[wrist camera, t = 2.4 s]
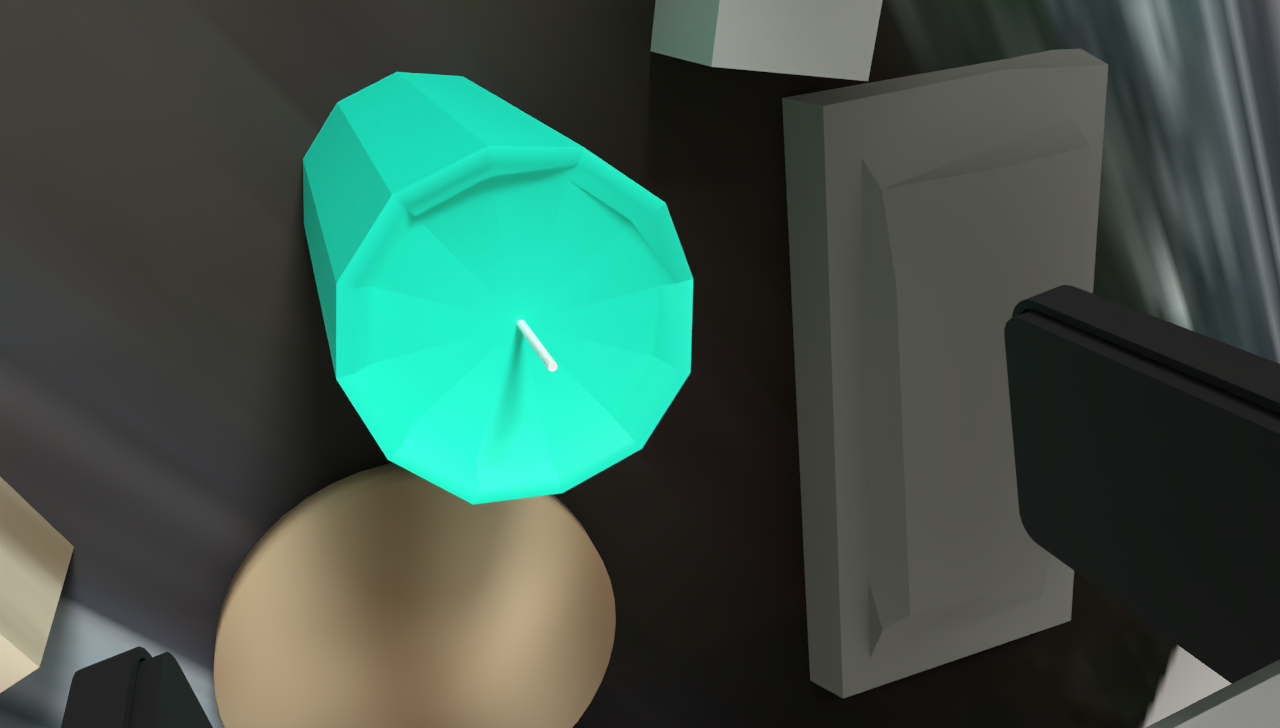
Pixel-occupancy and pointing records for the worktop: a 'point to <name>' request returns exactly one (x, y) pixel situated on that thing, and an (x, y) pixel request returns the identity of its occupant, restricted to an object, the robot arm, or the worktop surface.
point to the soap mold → (928, 349)
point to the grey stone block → (771, 35)
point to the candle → (491, 289)
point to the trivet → (414, 613)
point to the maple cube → (27, 584)
